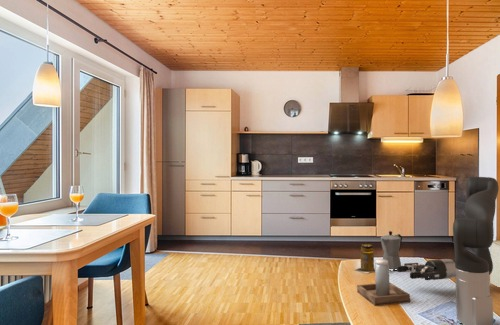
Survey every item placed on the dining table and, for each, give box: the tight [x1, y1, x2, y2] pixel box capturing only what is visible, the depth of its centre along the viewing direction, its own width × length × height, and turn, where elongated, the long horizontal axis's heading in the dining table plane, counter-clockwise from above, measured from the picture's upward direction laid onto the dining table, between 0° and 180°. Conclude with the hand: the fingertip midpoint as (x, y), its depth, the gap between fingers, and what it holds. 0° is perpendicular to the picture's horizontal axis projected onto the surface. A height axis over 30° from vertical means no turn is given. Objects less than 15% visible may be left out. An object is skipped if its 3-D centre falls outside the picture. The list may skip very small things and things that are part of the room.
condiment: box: [354, 243, 375, 274], centre depth 173 cm, size 7×8×12 cm
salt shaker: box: [374, 258, 390, 296], centre depth 139 cm, size 5×5×13 cm
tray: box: [356, 281, 411, 307], centre depth 139 cm, size 14×14×3 cm
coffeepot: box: [380, 230, 403, 270], centre depth 176 cm, size 15×9×18 cm, turn 125°
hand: (403, 272), depth 141 cm, fingers open, 8 cm apart
